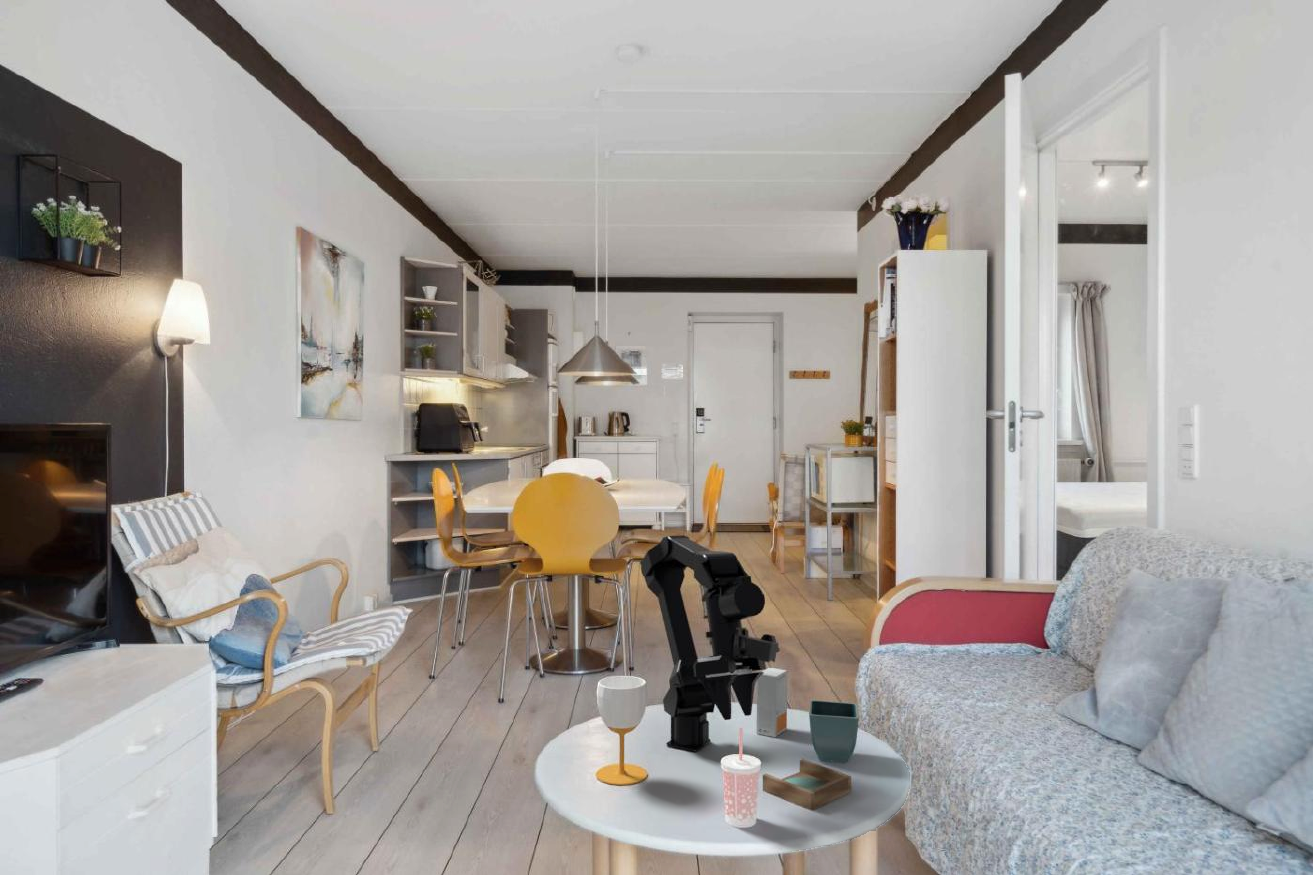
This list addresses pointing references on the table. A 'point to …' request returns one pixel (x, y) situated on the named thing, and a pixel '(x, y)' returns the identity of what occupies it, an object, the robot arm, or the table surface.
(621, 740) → the cup
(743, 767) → the beverage cup
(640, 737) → the table surface
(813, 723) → the flower pot
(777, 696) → the skincare box
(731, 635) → the robot arm
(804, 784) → the wooden tray
